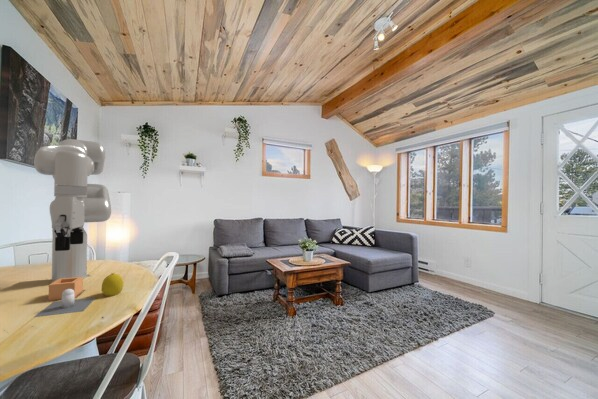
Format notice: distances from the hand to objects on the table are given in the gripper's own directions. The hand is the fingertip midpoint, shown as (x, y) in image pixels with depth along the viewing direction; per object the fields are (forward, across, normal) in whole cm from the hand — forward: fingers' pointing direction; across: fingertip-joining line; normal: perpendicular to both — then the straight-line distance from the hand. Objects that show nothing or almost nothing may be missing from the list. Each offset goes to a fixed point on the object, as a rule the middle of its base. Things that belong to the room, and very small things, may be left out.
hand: (70, 247), depth 77 cm
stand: (+16, 0, -1) cm, 16 cm away
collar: (+15, 0, -1) cm, 15 cm away
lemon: (+16, +3, +12) cm, 21 cm away
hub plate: (+16, +10, +3) cm, 19 cm away
